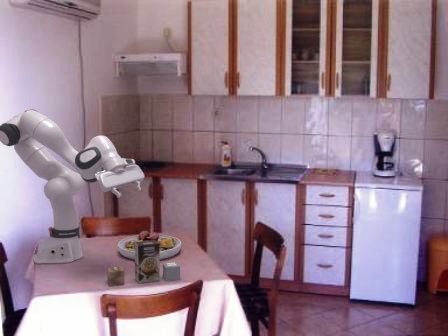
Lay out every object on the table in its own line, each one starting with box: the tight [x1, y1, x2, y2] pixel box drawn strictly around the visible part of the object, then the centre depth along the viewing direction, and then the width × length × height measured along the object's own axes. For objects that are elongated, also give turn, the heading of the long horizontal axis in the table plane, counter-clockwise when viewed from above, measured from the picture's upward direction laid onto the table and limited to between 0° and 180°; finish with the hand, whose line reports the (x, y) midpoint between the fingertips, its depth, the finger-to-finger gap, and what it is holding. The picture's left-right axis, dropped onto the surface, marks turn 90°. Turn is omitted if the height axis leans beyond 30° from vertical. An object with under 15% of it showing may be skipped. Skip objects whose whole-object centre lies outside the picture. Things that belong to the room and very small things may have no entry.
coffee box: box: [134, 240, 161, 284], centre depth 241 cm, size 9×6×16 cm
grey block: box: [162, 261, 181, 282], centre depth 243 cm, size 6×6×6 cm
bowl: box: [117, 230, 182, 261], centre depth 278 cm, size 30×30×8 cm
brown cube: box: [106, 265, 125, 287], centre depth 237 cm, size 6×6×6 cm
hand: (130, 194), depth 242 cm, fingers open, 8 cm apart
